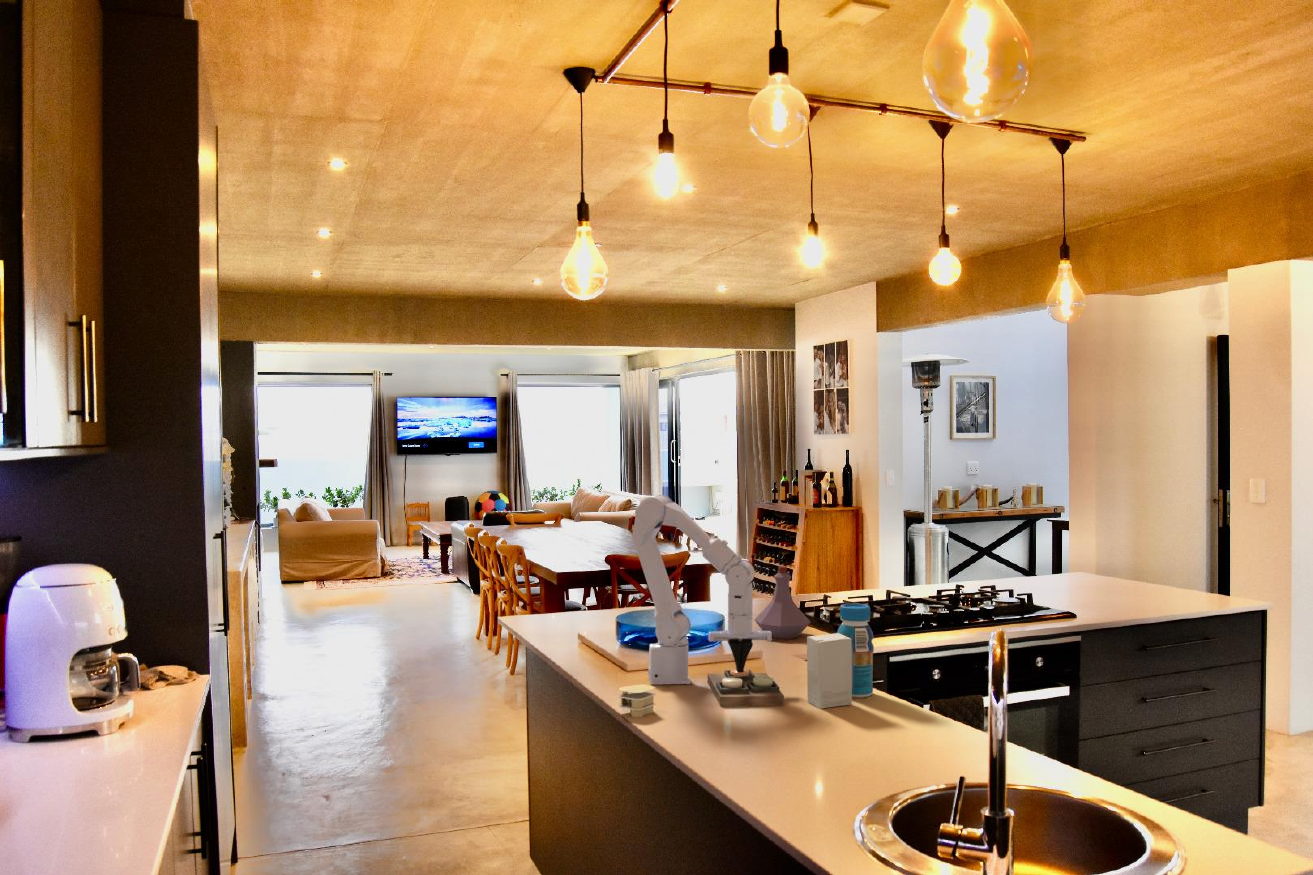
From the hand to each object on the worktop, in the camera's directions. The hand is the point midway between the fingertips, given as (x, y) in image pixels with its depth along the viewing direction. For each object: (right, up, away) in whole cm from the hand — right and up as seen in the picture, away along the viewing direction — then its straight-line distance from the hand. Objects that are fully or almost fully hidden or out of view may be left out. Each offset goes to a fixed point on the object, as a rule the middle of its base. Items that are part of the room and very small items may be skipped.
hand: (739, 671), depth 229 cm
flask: (+17, -3, +57) cm, 59 cm away
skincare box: (+18, -4, -14) cm, 24 cm away
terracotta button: (0, -2, 0) cm, 2 cm away
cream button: (-3, -2, -11) cm, 11 cm away
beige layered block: (-24, -4, -22) cm, 32 cm away
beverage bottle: (+26, -4, -6) cm, 27 cm away
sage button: (+4, -2, -10) cm, 11 cm away
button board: (+1, -4, -6) cm, 7 cm away
